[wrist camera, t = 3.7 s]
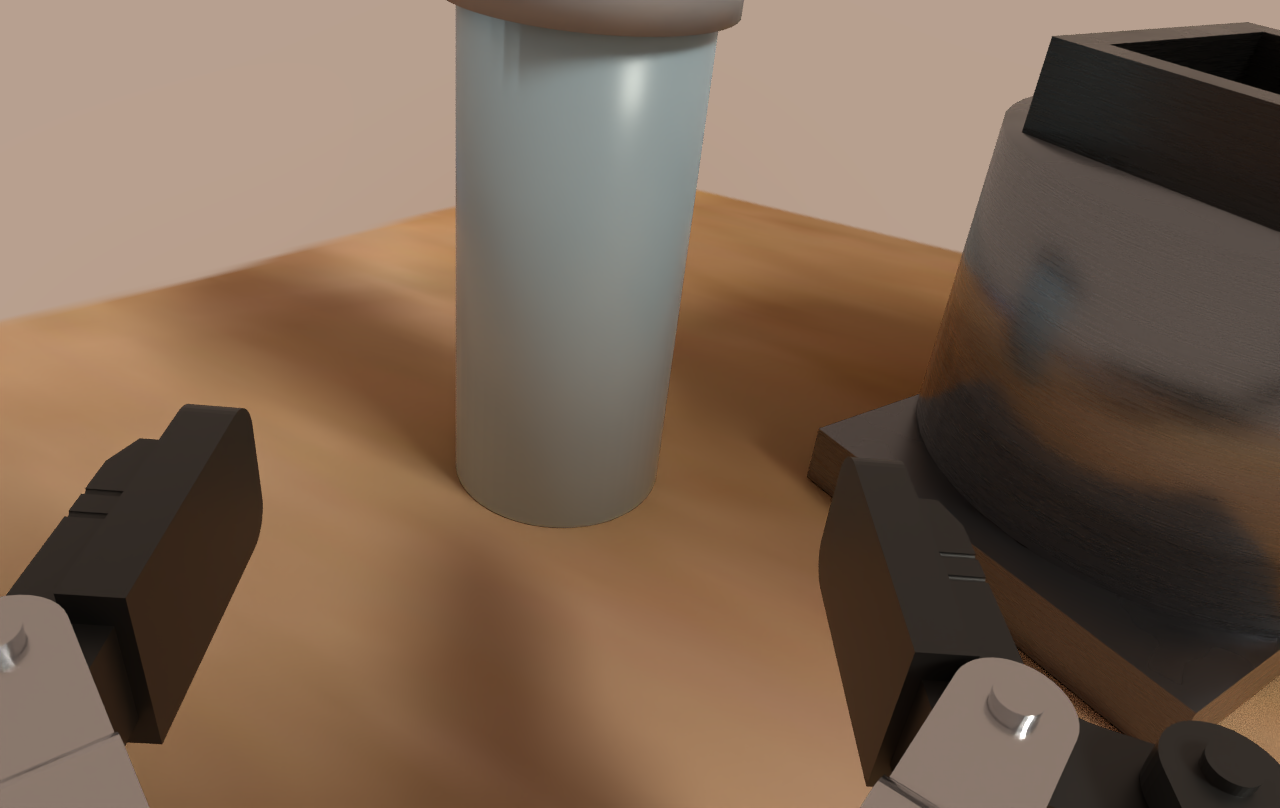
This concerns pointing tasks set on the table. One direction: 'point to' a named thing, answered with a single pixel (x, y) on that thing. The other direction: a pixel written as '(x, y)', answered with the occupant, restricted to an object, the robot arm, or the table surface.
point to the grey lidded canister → (573, 243)
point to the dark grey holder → (1118, 375)
